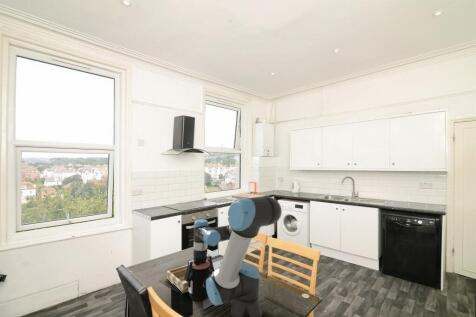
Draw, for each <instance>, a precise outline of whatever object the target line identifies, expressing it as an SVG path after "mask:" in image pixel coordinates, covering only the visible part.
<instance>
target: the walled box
mask: <svg viewBox="0 0 476 317" xmlns="http://www.w3.org/2000/svg"><path fill="white" fill-rule="evenodd" d="M187 267H188V264H185V265H183V266H180V267H176V268H172V269H169V270H167V271H166V280H167V279H168V280H169V281H170V282H171V284H172V285H173V284H174V285H175V286H176V287H177V288H178V289H179V290H180V291H181V292H182V293H181V292H180V291H179V290H178V289H177V288H176V287H175V286H174V285H173V286H174V287H175V288H176V289H177V290H178V291H179V292H180V293H181V294H185V293H188V290H189V287H188V286H187V281H185V280H184V277H185V274H186V270H187ZM168 280H167V281H168ZM169 281H168V282H169ZM170 282H169V283H170Z"/></svg>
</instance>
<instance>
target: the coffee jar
mask: <svg viewBox="0 0 476 317" xmlns="http://www.w3.org/2000/svg"><path fill="white" fill-rule="evenodd" d="M209 265H210V262H209V261H208V259H207V260H206V263H202V264H200V265H198V266H197V265H195V264H194V263H193V265H192V269H191V273H193V278H192V281H193V284H192V294H191V293H189V297H190V299H191V300H192V301H195V302H201V301H205V300H206V299H207V298H209V297H208V294H207V289H206V280H207V279H208V278H209V277H210V267H209Z"/></svg>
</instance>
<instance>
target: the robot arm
mask: <svg viewBox="0 0 476 317" xmlns="http://www.w3.org/2000/svg"><path fill="white" fill-rule="evenodd" d="M228 207H229V208H228V211H227V216H228V217H227V221H228V225H223V226H216V227H209V221H208V220H207V219H204V218H203V219H197V220H195V221H194V223H193V225H194V226H193V251H192V252H193V253H192V254H193V259H192V260H188V261H187V265H188V267H187V270H186V274H185V277H184V280H185V281H187V286H188V287H189V290H188V291H187V293H188V292H189V294H190V293H191V294H192V284H193V281H192V278H193V273H191V269H192V265H193V263H194V264H195V265H197V266H198V265H200V264H202V263H206V260H208V261H209V262H210V265H209V267H210V277H209V278H208V279H207V280H206V289H207V294H208V297H207V298H208V299H209V302H210V303H211V304H212V305H214V306H220V305H223V304H225V303H228V302H231V301H232V302H233V303H232V304H231V308H230V309H231V310H230V315H231V317H261V315H262V316H263V309H262V304H261V301H260V297H259V296H260V277H261V276H260V270H259V268H258V267H257V265H256V266H255V265H253V264H251V263H247V262H244V260H245V258H246V255H247V252H248V250H249V247H250V244H251V241H252V239H254V238H256V237H257V236H258V235H259V232H260V230H261V228H262V227H267V226H271V225H274V224H276V223H277V222H278V221H279V220H280V219H281V216H282V207H281V203H280V202H279V201H278V200H277V199H275V198H273V197H271V196H257V197H256V196H255V197H242V198H239V199H235V200H234V201H233V202H231V204H230V206H228ZM225 241H228V242H227V245H226V248H225V252H224V255H223V257H222V260H221V263H220V265H219V266H218V267H217V268H216V269H215V266H214V263H213V260H212V259H213V258H212V257H213V256H212V255H210V254H208V246H210V247H215V246H217V245H218V244H219V243H220V242H225Z"/></svg>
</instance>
